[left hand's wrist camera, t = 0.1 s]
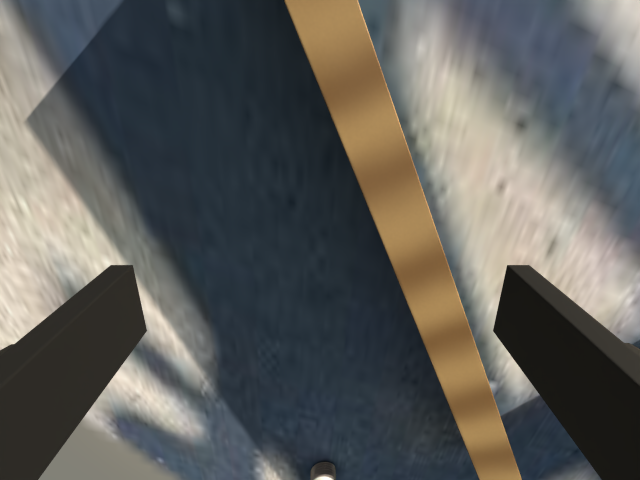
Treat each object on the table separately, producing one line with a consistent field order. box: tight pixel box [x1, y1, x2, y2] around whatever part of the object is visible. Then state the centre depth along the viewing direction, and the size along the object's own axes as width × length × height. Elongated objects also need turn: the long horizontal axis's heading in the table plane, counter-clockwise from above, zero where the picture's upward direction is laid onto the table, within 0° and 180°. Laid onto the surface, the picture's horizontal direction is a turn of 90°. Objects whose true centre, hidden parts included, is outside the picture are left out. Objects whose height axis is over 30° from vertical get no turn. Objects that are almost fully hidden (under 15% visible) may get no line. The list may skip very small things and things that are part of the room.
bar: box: [284, 0, 522, 480], centre depth 38 cm, size 74×5×8 cm, turn 24°
